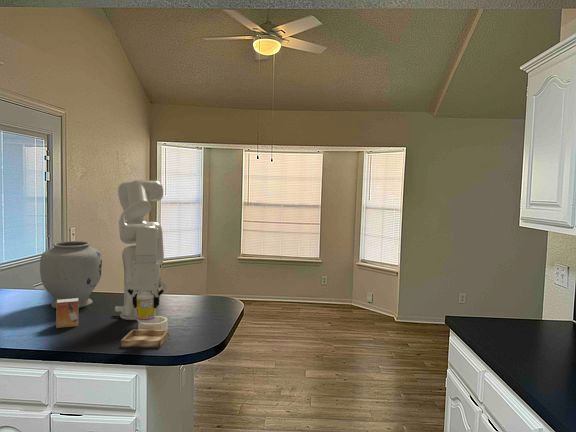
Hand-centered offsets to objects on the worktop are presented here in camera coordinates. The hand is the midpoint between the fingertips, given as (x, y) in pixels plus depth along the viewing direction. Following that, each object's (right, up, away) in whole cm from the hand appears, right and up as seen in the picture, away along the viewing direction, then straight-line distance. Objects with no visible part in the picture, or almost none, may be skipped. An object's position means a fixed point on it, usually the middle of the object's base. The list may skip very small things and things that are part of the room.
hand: (146, 306), depth 156 cm
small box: (-38, -11, +17) cm, 43 cm away
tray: (0, -13, +1) cm, 13 cm away
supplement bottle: (0, -5, 0) cm, 5 cm away
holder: (-2, -12, +14) cm, 19 cm away
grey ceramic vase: (-52, -9, +47) cm, 71 cm away
